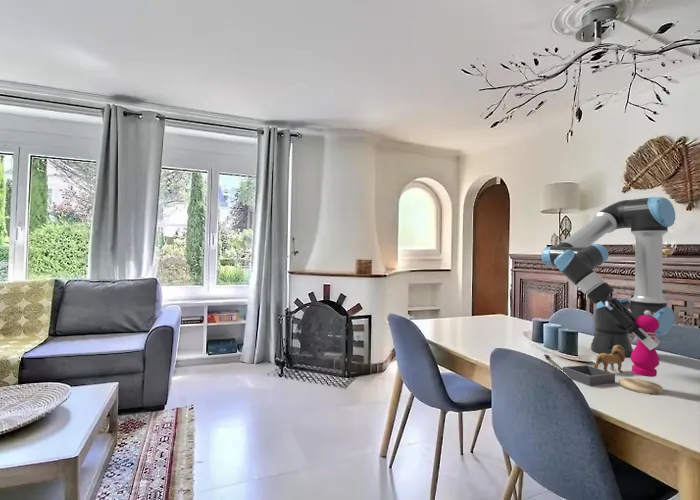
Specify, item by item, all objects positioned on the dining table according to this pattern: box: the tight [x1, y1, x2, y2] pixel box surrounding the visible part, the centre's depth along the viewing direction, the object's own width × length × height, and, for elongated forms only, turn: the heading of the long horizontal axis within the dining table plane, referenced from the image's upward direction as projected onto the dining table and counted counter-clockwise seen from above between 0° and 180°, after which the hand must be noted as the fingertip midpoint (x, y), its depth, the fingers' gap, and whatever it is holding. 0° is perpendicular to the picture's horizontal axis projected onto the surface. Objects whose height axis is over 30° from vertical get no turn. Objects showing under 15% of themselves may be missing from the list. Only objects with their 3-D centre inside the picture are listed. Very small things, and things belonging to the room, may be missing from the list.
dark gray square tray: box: [562, 364, 616, 387], centre depth 131 cm, size 11×11×3 cm
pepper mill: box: [630, 310, 660, 378], centre depth 123 cm, size 7×7×20 cm
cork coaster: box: [618, 377, 664, 395], centre depth 124 cm, size 11×11×1 cm
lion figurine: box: [593, 345, 626, 373], centre depth 140 cm, size 15×5×9 cm, turn 116°
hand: (655, 346), depth 121 cm, fingers closed on pepper mill, 5 cm apart
